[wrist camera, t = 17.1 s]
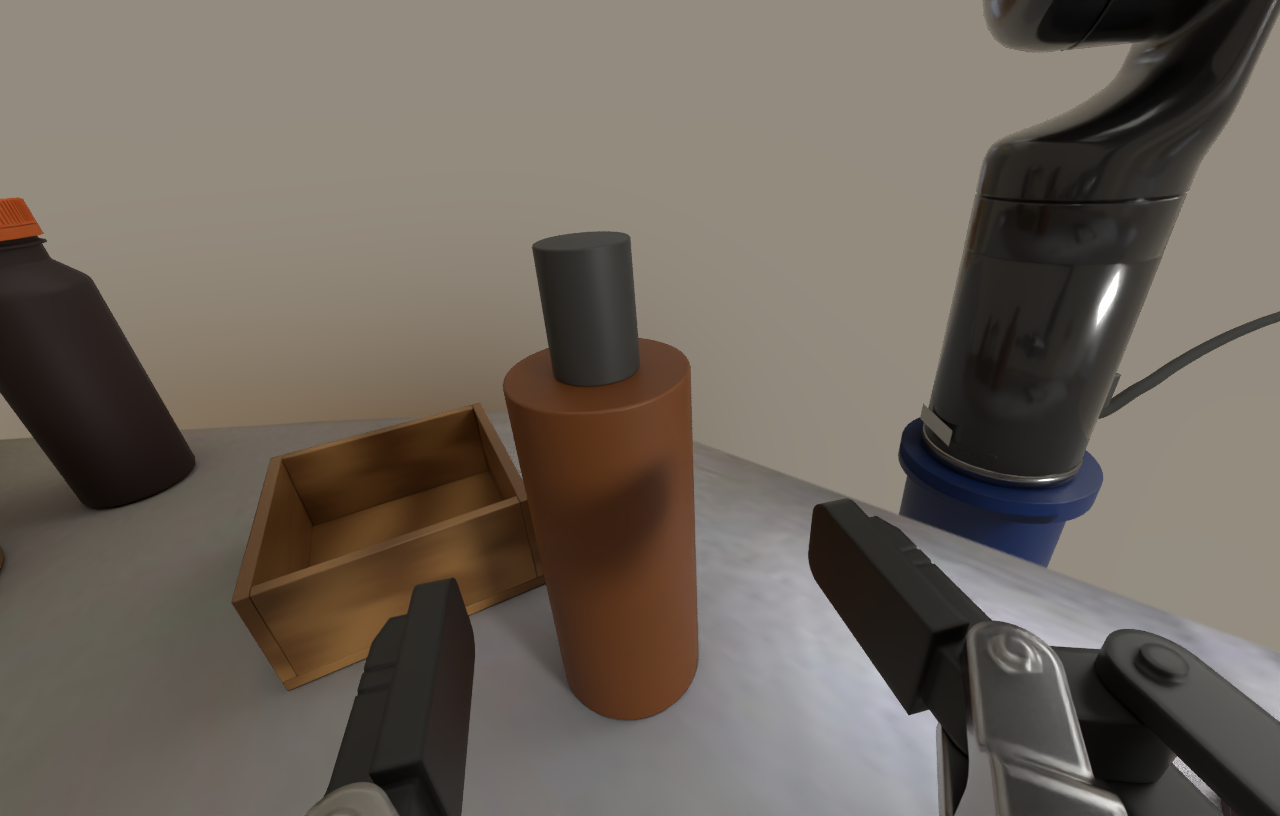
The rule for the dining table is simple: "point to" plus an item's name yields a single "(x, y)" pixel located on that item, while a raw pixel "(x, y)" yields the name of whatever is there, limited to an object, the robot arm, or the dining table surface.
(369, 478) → the wooden box
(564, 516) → the sauce bottle
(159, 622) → the dining table surface
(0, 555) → the wooden container
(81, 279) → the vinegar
